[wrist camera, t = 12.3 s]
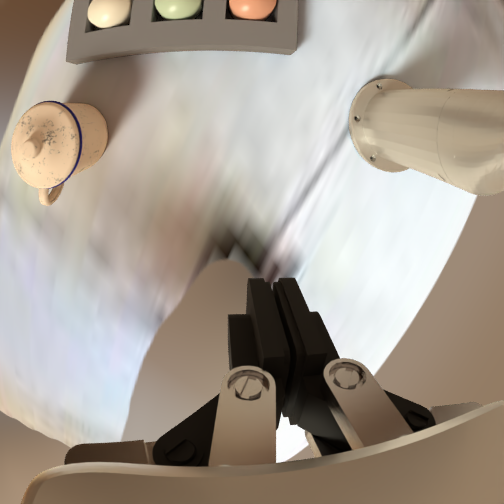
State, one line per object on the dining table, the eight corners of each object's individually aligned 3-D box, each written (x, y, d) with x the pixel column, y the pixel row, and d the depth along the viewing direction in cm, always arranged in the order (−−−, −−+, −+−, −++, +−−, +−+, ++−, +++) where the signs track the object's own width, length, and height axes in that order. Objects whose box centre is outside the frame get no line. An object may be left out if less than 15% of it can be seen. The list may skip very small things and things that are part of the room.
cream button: (137, -6, 24) (131, -15, 21) (132, 28, 26) (126, 21, 23) (99, 1, 23) (90, -7, 20) (94, 34, 25) (85, 29, 22)
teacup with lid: (59, 96, 28) (5, 96, 18) (119, 109, 30) (78, 108, 20) (40, 184, 33) (-10, 212, 22) (96, 201, 35) (54, 236, 24)
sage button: (204, -11, 25) (203, -21, 22) (200, 23, 27) (199, 15, 24) (161, -9, 24) (157, -18, 21) (157, 25, 26) (152, 18, 23)
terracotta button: (272, -8, 25) (277, -18, 23) (271, 26, 28) (275, 18, 25) (229, -11, 25) (230, -21, 22) (227, 23, 27) (228, 15, 24)
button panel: (293, -25, 25) (298, -35, 22) (290, 55, 30) (296, 50, 27) (87, -15, 22) (78, -22, 19) (76, 64, 27) (65, 61, 24)
